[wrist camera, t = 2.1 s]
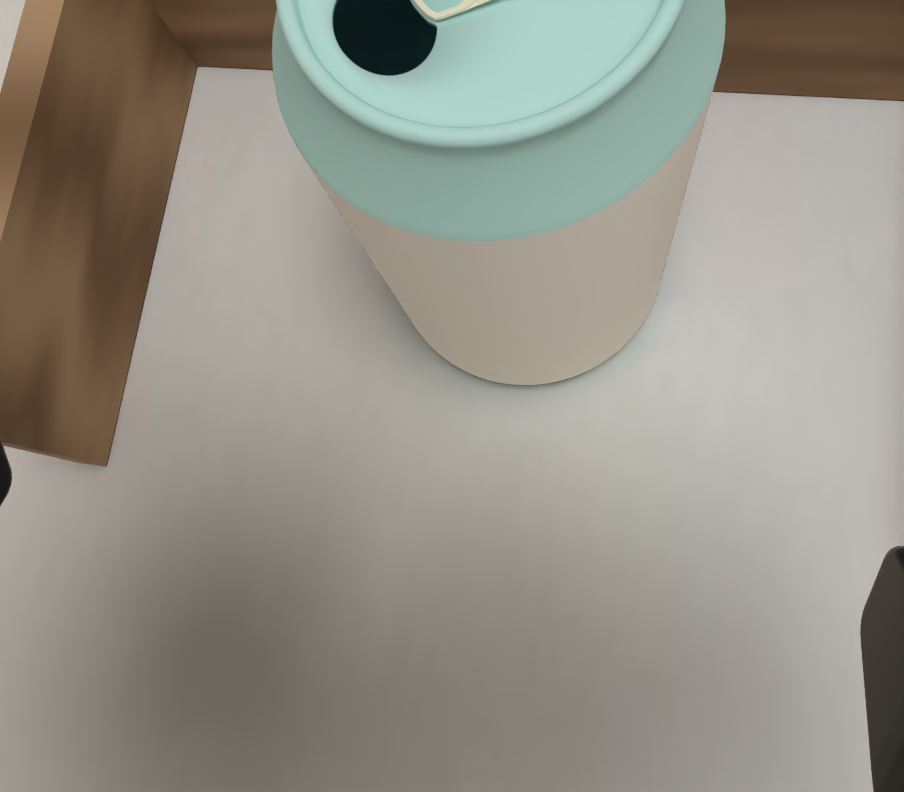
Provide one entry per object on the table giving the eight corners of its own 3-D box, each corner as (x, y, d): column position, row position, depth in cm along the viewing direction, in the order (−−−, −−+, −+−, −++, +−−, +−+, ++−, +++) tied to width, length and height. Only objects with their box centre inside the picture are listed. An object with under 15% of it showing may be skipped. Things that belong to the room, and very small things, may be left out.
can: (607, 428, 22) (638, 257, 10) (363, 340, 23) (146, 102, 12) (697, 188, 23) (821, -221, 11) (458, 118, 24) (346, -307, 13)
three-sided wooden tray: (1003, 593, 19) (1182, 600, 14) (74, 461, 24) (-91, 424, 18) (1014, 71, 22) (1171, -110, 16) (174, 35, 26) (58, -119, 20)
